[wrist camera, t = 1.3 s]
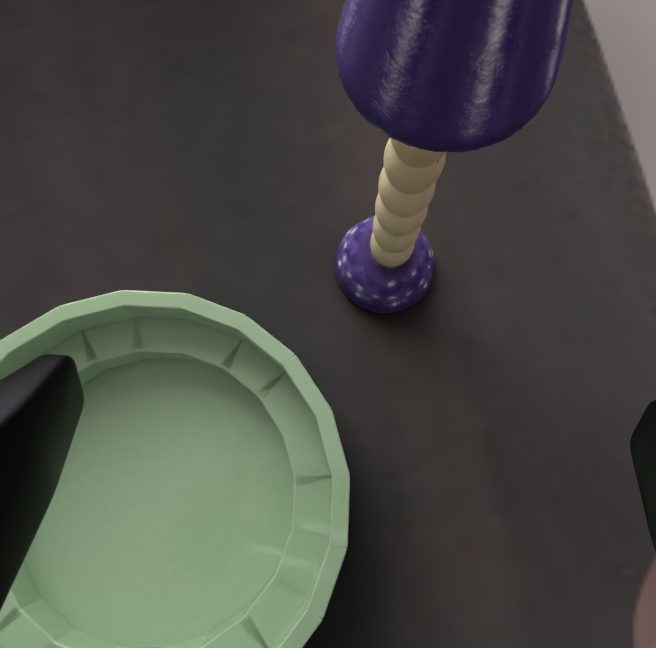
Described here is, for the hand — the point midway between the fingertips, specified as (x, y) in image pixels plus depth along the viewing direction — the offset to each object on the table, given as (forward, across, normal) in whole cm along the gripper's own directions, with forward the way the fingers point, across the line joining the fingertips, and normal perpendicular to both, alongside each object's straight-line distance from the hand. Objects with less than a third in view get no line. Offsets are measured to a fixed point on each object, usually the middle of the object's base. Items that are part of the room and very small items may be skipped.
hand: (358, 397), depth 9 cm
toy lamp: (+15, -1, +6) cm, 16 cm away
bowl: (+7, +7, +13) cm, 16 cm away
